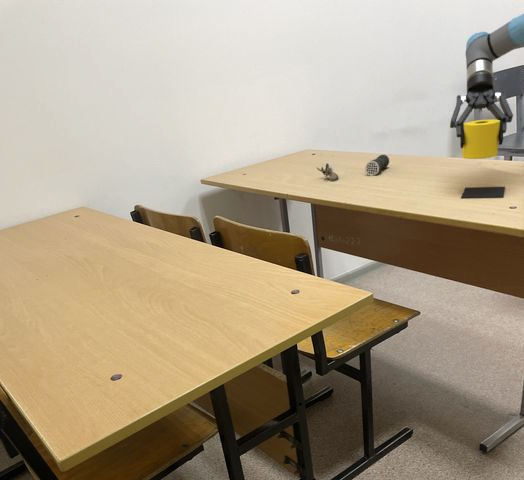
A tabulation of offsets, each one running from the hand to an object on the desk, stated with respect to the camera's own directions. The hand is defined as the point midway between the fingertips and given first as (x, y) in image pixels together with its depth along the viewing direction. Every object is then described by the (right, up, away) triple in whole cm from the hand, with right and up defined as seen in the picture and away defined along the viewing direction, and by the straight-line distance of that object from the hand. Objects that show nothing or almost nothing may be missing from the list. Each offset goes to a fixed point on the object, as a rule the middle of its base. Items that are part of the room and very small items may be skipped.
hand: (481, 143), depth 157 cm
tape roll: (+1, -2, +5) cm, 5 cm away
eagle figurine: (-39, +6, +53) cm, 66 cm away
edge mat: (+4, -12, +9) cm, 16 cm away
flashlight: (-19, +10, +55) cm, 59 cm away
